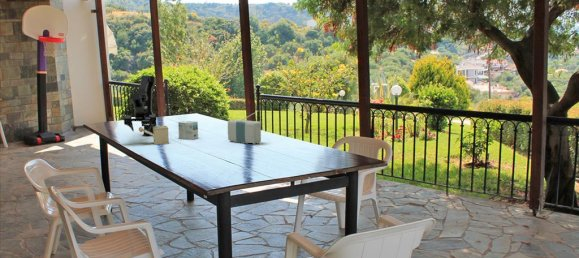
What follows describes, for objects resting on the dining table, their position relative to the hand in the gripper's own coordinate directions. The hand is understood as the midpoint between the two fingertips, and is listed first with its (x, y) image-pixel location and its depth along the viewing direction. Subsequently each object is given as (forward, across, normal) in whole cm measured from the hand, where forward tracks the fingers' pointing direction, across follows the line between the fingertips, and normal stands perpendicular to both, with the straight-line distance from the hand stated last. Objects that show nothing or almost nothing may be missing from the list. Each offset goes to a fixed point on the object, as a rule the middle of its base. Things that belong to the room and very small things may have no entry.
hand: (141, 130), depth 329 cm
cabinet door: (0, +7, +5) cm, 9 cm away
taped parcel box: (+15, +60, -2) cm, 62 cm away
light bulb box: (-4, +30, +16) cm, 34 cm away
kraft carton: (+3, +12, +9) cm, 15 cm away
